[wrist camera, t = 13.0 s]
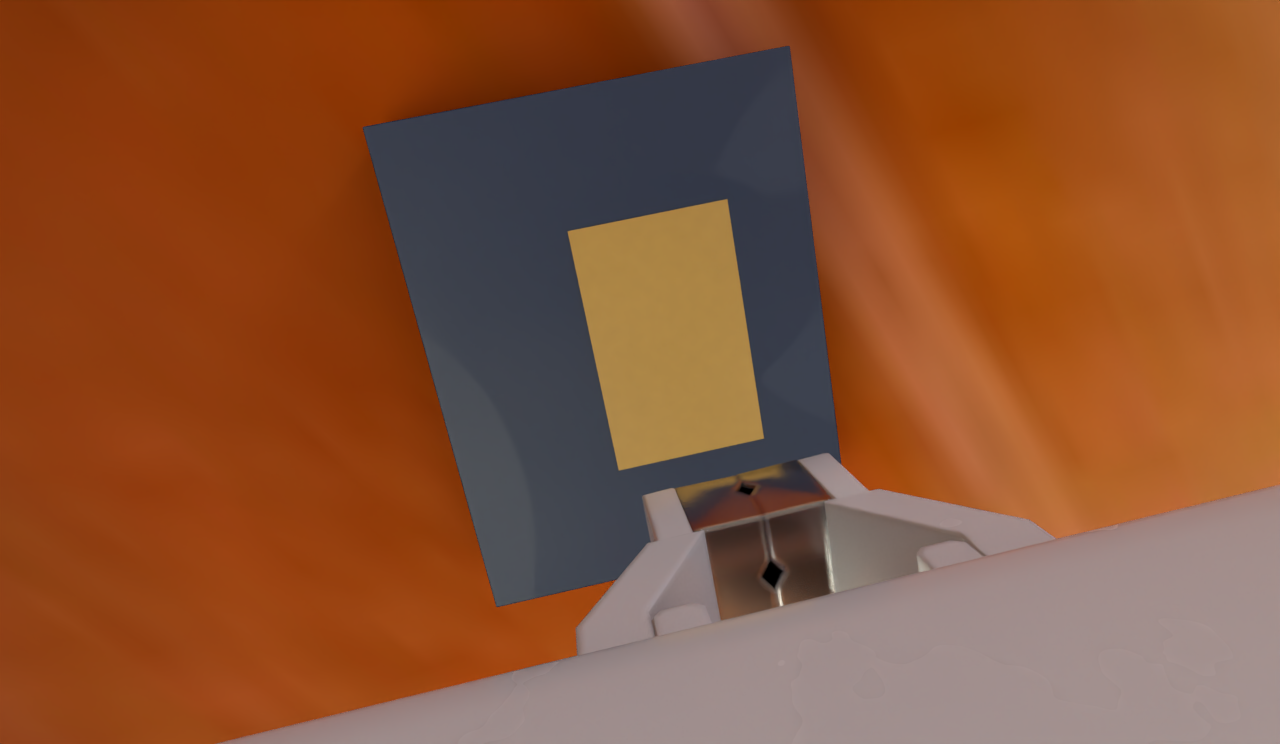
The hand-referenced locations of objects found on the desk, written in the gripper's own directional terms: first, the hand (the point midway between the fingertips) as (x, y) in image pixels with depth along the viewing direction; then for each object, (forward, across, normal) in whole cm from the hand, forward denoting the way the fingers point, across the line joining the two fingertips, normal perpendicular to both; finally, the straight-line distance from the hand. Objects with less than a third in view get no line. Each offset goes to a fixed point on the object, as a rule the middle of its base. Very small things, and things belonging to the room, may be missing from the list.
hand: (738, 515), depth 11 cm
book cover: (+14, 0, 0) cm, 14 cm away
